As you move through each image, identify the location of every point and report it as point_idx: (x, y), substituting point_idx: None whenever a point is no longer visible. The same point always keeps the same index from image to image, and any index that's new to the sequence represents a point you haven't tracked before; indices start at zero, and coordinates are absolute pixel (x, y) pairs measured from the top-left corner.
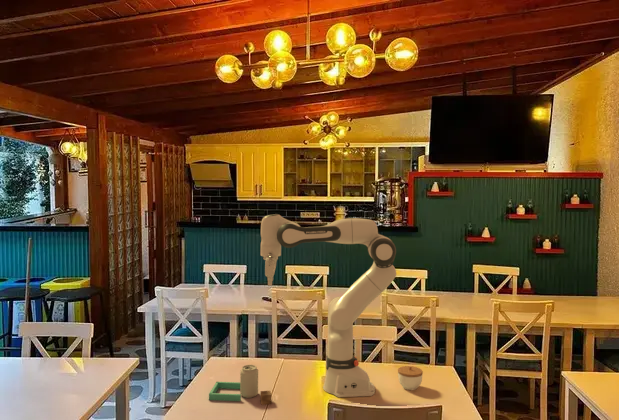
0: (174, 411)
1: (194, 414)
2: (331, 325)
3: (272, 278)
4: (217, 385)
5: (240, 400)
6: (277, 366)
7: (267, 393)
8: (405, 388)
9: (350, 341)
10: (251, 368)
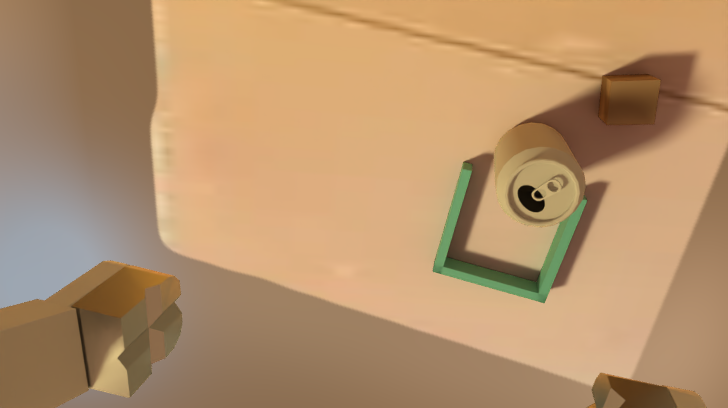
0: None
1: (647, 338)
2: None
3: (138, 314)
4: (456, 267)
5: None
6: (242, 10)
7: (641, 96)
8: None
9: None
10: (561, 186)
